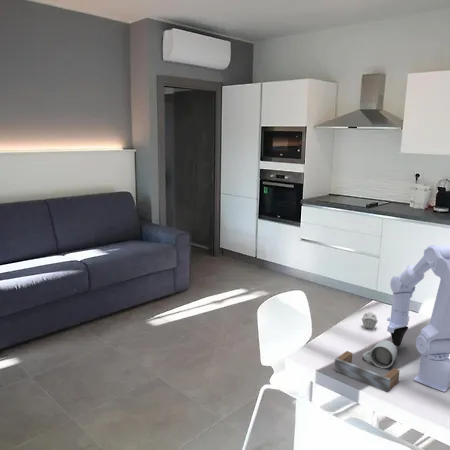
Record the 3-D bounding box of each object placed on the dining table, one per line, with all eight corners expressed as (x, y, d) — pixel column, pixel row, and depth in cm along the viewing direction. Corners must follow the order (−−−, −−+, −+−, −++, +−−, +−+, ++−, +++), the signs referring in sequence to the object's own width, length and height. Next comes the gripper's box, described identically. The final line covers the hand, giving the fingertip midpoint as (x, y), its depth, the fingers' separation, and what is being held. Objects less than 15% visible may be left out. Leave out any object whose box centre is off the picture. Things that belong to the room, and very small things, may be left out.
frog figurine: (360, 330, 176) (361, 313, 174) (361, 323, 182) (363, 307, 181) (376, 332, 174) (378, 316, 172) (377, 326, 180) (378, 309, 179)
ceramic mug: (397, 361, 152) (398, 340, 150) (392, 371, 145) (394, 349, 143) (365, 353, 157) (367, 333, 156) (359, 363, 150) (361, 341, 149)
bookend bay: (398, 382, 138) (399, 370, 137) (387, 392, 132) (389, 380, 132) (346, 361, 150) (347, 350, 149) (334, 370, 144) (335, 358, 144)
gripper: (397, 301, 163) (393, 335, 166) (380, 311, 153) (376, 348, 155) (416, 306, 159) (412, 341, 161) (400, 317, 148) (396, 354, 151)
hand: (396, 345), depth 158 cm, fingers closed
